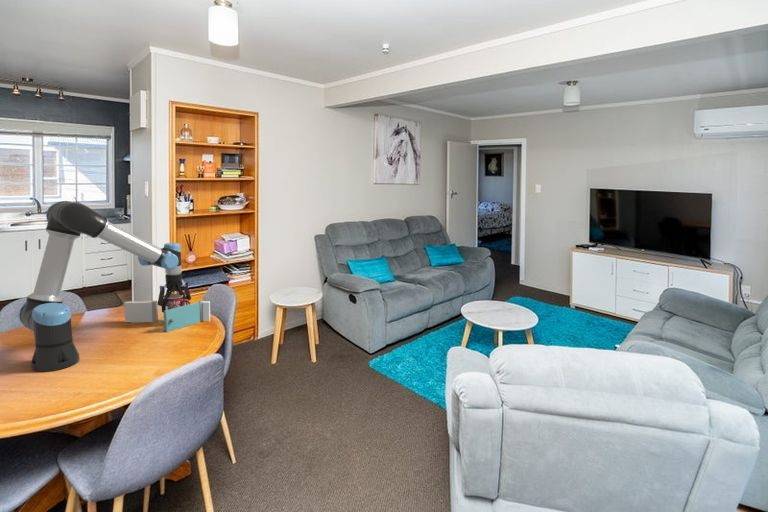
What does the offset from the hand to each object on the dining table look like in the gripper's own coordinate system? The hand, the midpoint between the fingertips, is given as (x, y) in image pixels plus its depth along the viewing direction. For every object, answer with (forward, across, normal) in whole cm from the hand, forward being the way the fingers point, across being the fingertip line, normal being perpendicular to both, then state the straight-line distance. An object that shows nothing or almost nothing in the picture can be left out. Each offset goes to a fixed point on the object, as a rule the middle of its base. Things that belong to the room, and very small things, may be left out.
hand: (175, 316), depth 220 cm
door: (+4, 0, +8) cm, 9 cm away
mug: (+3, 0, 0) cm, 3 cm away
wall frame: (+4, +1, -6) cm, 7 cm away
